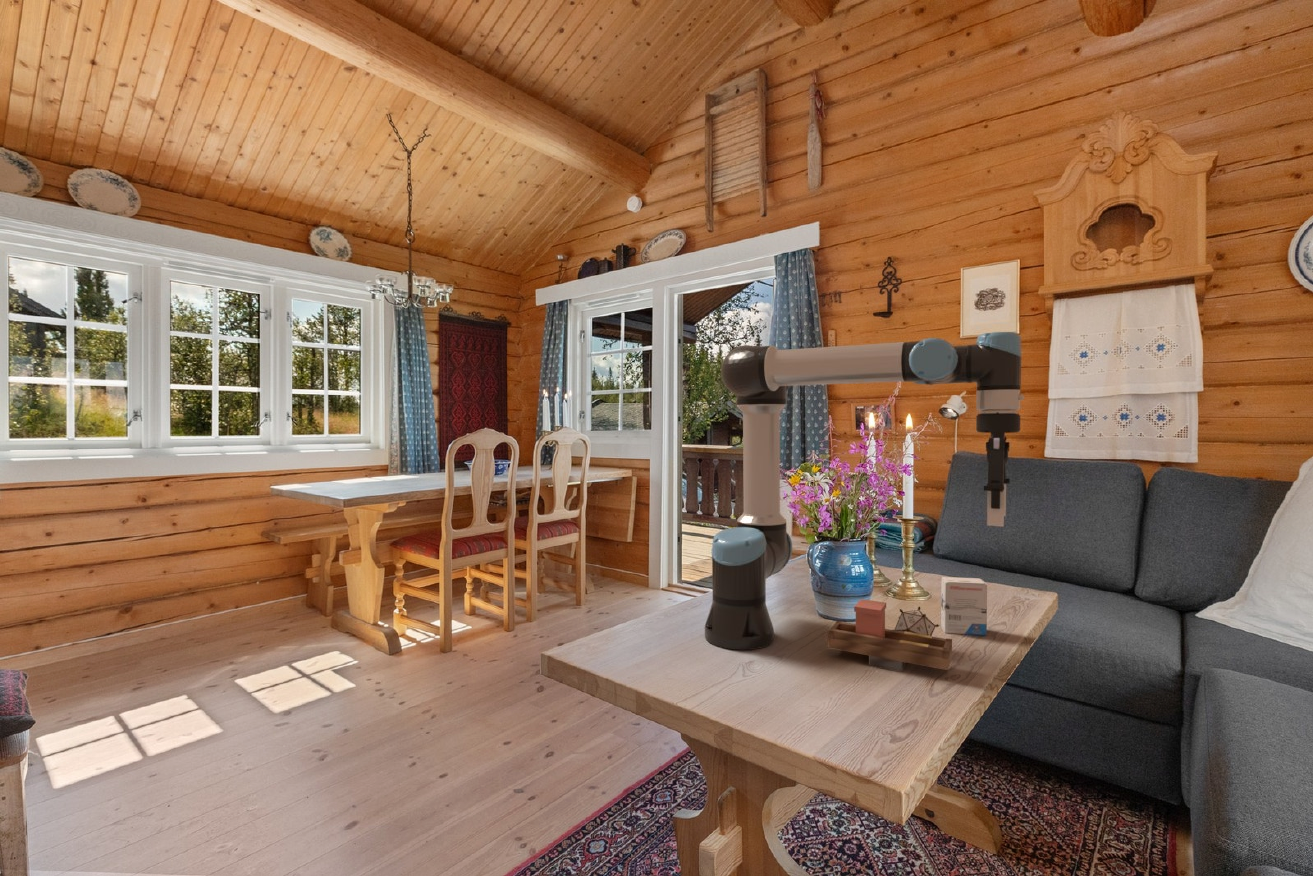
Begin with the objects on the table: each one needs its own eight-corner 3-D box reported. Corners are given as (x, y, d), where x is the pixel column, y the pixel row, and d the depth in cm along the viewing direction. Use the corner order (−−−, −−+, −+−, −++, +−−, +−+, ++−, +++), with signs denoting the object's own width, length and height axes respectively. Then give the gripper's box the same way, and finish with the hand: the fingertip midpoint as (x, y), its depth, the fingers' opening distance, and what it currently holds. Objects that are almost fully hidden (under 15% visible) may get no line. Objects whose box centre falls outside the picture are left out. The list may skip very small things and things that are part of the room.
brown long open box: (827, 657, 123) (827, 630, 123) (836, 646, 129) (836, 620, 129) (948, 681, 112) (948, 650, 112) (951, 667, 118) (952, 638, 118)
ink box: (981, 628, 139) (981, 577, 139) (987, 636, 134) (987, 583, 134) (940, 626, 141) (940, 575, 141) (945, 633, 136) (945, 581, 136)
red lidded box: (854, 640, 121) (854, 606, 121) (860, 631, 126) (860, 599, 126) (880, 644, 118) (880, 610, 118) (886, 635, 123) (886, 602, 123)
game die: (923, 667, 127) (946, 639, 121) (883, 650, 129) (904, 621, 123) (924, 634, 134) (945, 606, 128) (886, 618, 136) (905, 590, 130)
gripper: (1019, 411, 107) (1018, 532, 107) (1020, 412, 128) (1019, 513, 129) (971, 412, 110) (970, 528, 111) (980, 412, 132) (979, 510, 132)
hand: (996, 520), depth 120 cm, fingers open, 13 cm apart
